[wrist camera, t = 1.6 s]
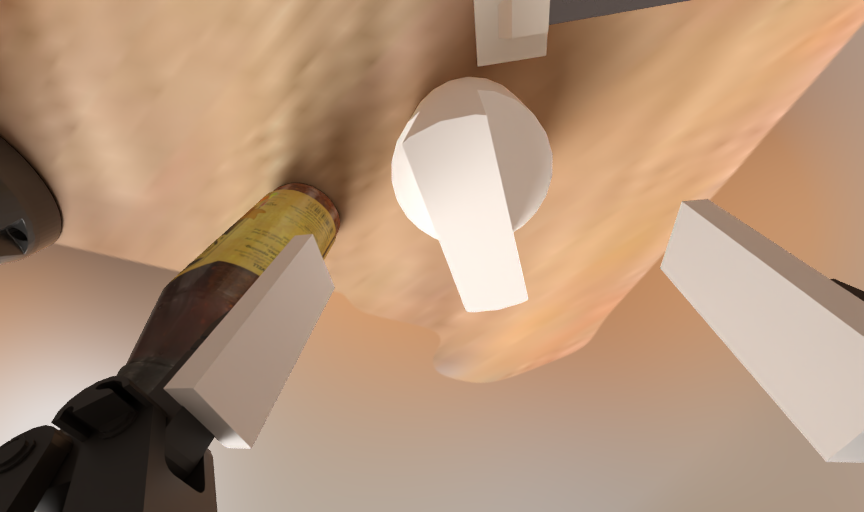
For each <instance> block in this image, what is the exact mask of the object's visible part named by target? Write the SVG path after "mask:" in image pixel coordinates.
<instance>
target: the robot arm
mask: <svg viewBox="0 0 864 512" xmlns="http://www.w3.org/2000/svg"><path fill="white" fill-rule="evenodd" d="M60 232H61V218H60V213H59V210H58V207H57V205H56V203H55V201H54V198H53V197H52V195H51V193H50V191H49V190H48V188H47V187H46V185H45V184H44V182H43V181H42V179H41V178H40V177H39V176H38V174H37V173H36V172H35V171H34V169H33V168H32V167H31V166H30V165H29V164H28V163H27V162H26V161H25V159H24V158H23V157H22V156H21V155H20V154H19V153H18V152H17V151H16V150H14V149H13V148H12V147H11V146H10V145H9V144H8V143H7V142H6V141H5V140H3V139H2V138H1V137H0V265H2V264H6V263H11V262H15V261H19V260H21V259H24V258H27V257H29V256H31V255H33V254H35V253H37V252H39V251H41V250H43V249H45V248H47V247H49V246H50V245H52V244H53V243H54V242H55V241H56V240H57V239H58V237H59V235H60ZM660 268H661V270H662V271H663V272H664V273H665V274H666V275H667V277H668V278H669V279H670V280H671V281H672V282H673V284H674V285H675V286H676V287H677V288H678V289H679V291H680V292H681V293H682V294H683V295H684V296H685V298H686V299H687V300H688V301H689V302H690V303H691V304H692V306H693V307H694V308H695V309H696V310H697V312H698V313H699V314H700V315H701V316H702V317H703V319H704V320H705V321H706V322H707V323H708V324H709V326H710V327H711V328H712V329H713V330H714V331H715V333H716V334H717V335H718V336H719V337H720V338H721V340H722V341H723V342H724V343H725V344H726V345H727V347H729V349H730V350H731V351H732V352H733V354H734V355H735V356H736V357H737V358H738V359H739V361H740V362H741V363H742V364H743V365H744V366H745V368H747V370H748V371H749V372H750V373H751V375H752V376H753V377H754V378H755V379H756V380H757V382H758V383H759V384H760V385H761V386H762V387H763V389H764V390H765V391H766V392H767V393H768V394H769V395H770V397H771V398H772V399H773V400H774V401H775V402H776V404H777V405H778V406H779V407H780V408H781V409H782V411H783V412H784V413H785V414H786V415H787V417H788V418H789V419H790V420H791V421H792V422H793V423H794V425H795V426H796V427H797V428H798V429H799V431H800V432H801V433H802V434H803V435H804V436H805V437H806V439H807V440H808V441H809V442H810V443H811V445H812V446H813V447H814V448H815V449H816V450H817V452H818V453H819V454H820V455H821V456H822V457H823V458H824V460H825V461H826V462H862V463H863V462H864V291H862V290H859V289H857V288H854V287H852V286H850V285H847V284H845V283H843V282H840V281H838V280H836V279H829V278H827V277H826V276H824V275H822V274H821V273H820V272H818V271H817V270H815V269H814V268H812V267H810V266H809V265H807V264H806V263H804V262H803V261H801V260H799V259H798V258H797V257H795V256H794V255H792V254H791V253H789V252H788V251H786V250H784V249H783V248H782V247H780V246H778V245H777V244H775V243H774V242H772V241H771V240H769V239H767V238H766V237H765V236H763V235H762V234H760V233H759V232H757V231H756V230H754V229H753V228H751V227H749V226H748V225H746V224H745V223H743V222H742V221H740V220H738V219H737V218H736V217H734V216H732V215H731V214H730V213H728V212H726V211H725V210H723V209H722V208H721V207H719V206H717V205H716V204H714V203H713V202H711V201H710V200H708V199H704V200H693V201H682V203H681V206H680V209H679V212H678V215H677V218H676V221H675V224H674V227H673V230H672V233H671V236H670V239H669V242H668V246H667V249H666V252H665V255H664V258H663V261H662V264H661V267H660ZM334 288H335V287H334V284H333V282H332V279H331V277H330V274H329V272H328V270H327V267H326V265H325V262H324V260H323V257H322V255H321V253H320V250H319V248H318V245H317V243H316V241H315V238H314V236H313V234H307V235H295V236H294V237H293V238H292V239H291V241H290V242H289V243H288V244H287V245H286V246H285V248H284V249H283V250H282V251H281V252H280V253H279V255H278V256H277V257H276V258H275V259H274V260H273V262H272V263H271V264H270V265H269V266H268V267H267V269H266V270H265V271H264V272H263V273H262V274H261V275H260V277H259V278H258V279H257V280H256V281H255V282H254V284H253V285H252V286H251V287H250V288H249V289H248V291H247V292H246V293H245V294H244V295H243V296H242V298H241V299H240V300H239V301H238V302H237V303H236V305H235V306H234V307H233V308H232V309H231V310H230V311H227V312H226V313H225V314H223V315H222V316H221V317H219V318H218V319H217V320H215V321H214V322H213V323H212V324H211V325H210V326H209V327H208V328H207V329H206V330H205V331H204V333H203V334H202V335H201V336H200V339H197V340H196V342H195V343H194V344H193V345H192V346H191V347H190V351H187V352H186V353H185V354H184V355H183V356H182V357H181V359H180V360H179V361H178V362H177V363H176V364H175V365H174V366H173V368H172V369H171V370H170V371H169V372H168V373H167V374H166V375H165V377H164V378H163V379H162V380H161V381H160V382H159V383H158V384H157V386H156V387H155V388H154V389H153V390H152V391H151V392H150V394H149V395H147V394H146V393H145V392H144V391H142V390H141V389H140V388H139V387H138V386H137V385H136V384H135V383H133V382H132V381H131V380H130V379H129V378H127V377H125V376H122V375H121V376H112V377H109V378H106V379H104V380H101V381H98V382H96V383H95V384H93V385H91V386H89V387H88V388H86V389H84V390H83V391H81V392H80V393H79V394H77V395H76V396H75V397H73V398H72V399H71V400H69V401H68V402H67V404H65V405H64V406H63V407H62V408H61V409H60V411H58V413H57V415H56V416H55V418H54V419H53V421H52V423H53V424H54V425H56V426H57V427H59V428H60V429H62V430H63V431H65V432H67V433H68V434H69V435H65V434H64V433H62V432H61V431H59V430H57V429H56V428H54V427H52V426H47V425H45V426H40V427H36V428H33V429H31V430H29V431H27V432H24V433H22V434H20V435H18V436H16V437H14V438H13V439H11V440H10V441H8V442H6V443H5V444H3V445H2V446H1V447H0V512H217V502H216V490H215V477H214V466H213V456H212V454H211V451H210V450H209V449H208V446H209V445H210V443H211V442H212V440H213V439H214V437H215V438H216V439H217V440H218V441H219V442H220V443H221V444H223V445H224V446H225V447H226V448H252V446H253V444H254V443H255V441H256V439H257V437H258V435H259V433H260V431H261V429H262V427H263V425H264V423H265V421H266V419H267V417H268V416H269V413H270V412H271V410H272V408H273V406H274V403H275V402H276V400H277V398H278V396H279V394H280V392H281V390H282V389H283V387H284V385H285V383H286V381H287V379H288V377H289V375H290V373H291V371H292V369H293V367H294V365H295V364H296V362H297V360H298V358H299V356H300V354H301V352H302V350H303V348H304V346H305V344H306V342H307V340H308V338H309V336H310V335H311V332H312V330H313V329H314V327H315V325H316V323H317V321H318V319H319V317H320V315H321V313H322V311H323V309H324V307H325V306H326V304H327V302H328V300H329V298H330V296H331V294H332V292H333V290H334Z"/></svg>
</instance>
